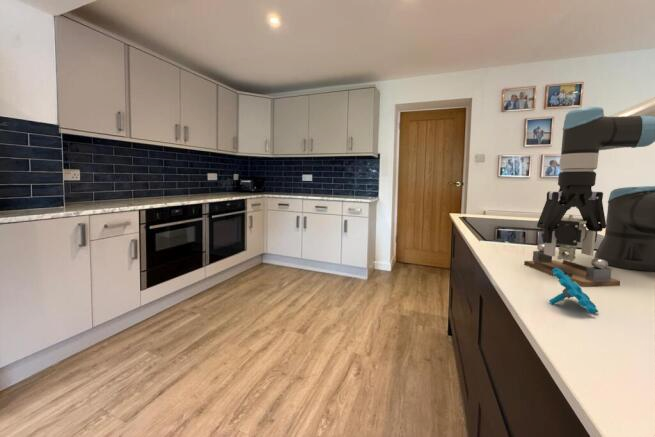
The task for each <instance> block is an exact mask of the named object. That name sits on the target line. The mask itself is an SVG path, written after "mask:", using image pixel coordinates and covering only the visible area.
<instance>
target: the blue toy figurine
mask: <svg viewBox="0 0 655 437" xmlns="http://www.w3.org/2000/svg"><path fill="white" fill-rule="evenodd" d="M552 271H553V272H554V273H553V274H554V276H553V277H556V278H557V281H558V282H559V284H560V285H561V286H562V287H564V289H563V290H562V292H561V293H559V294H558V295H556V296H555V297H552V298H550V299H549V300H548V301H549V303H550V304H551V305H555V304H558V303H559V302H561V301H562V300H564V299H570V298H575V299H576V300H577V304H579V305H580V306H581V307H582V308H585V309H586V311H587V312H588V313H590V314H594V315H595V314H597V313H599V310H598V309H597V306H596V305H595V303H594V302H593V301H592V300H591V299H590V297H589V295H588V294H587V293H585V292H584V291H583V290H582V287H581V286H579V285H578V284H577V283H576V282H572V281H571V280H572V279H571V278H570V277H569V276H568V275H564V272H563V271H562V270H560V269H558V268H554V269H553V270H552Z"/></svg>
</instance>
